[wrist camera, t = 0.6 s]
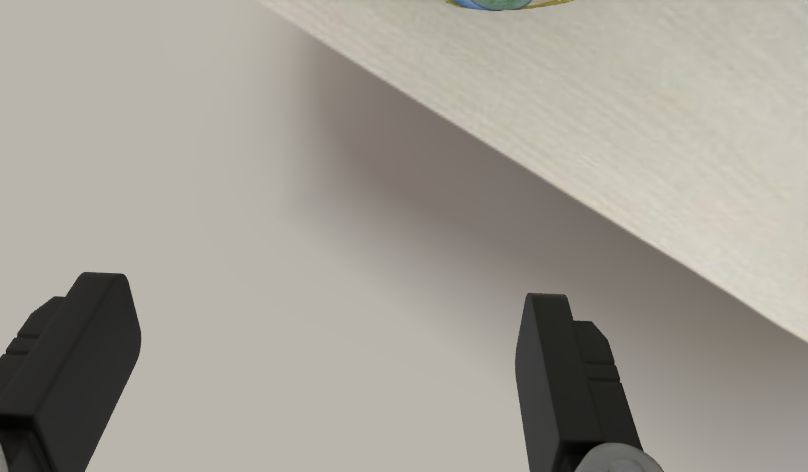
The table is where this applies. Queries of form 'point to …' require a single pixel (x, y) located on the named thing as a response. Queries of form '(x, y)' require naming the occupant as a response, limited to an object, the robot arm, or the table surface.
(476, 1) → the cell model
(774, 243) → the table surface
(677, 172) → the table surface
